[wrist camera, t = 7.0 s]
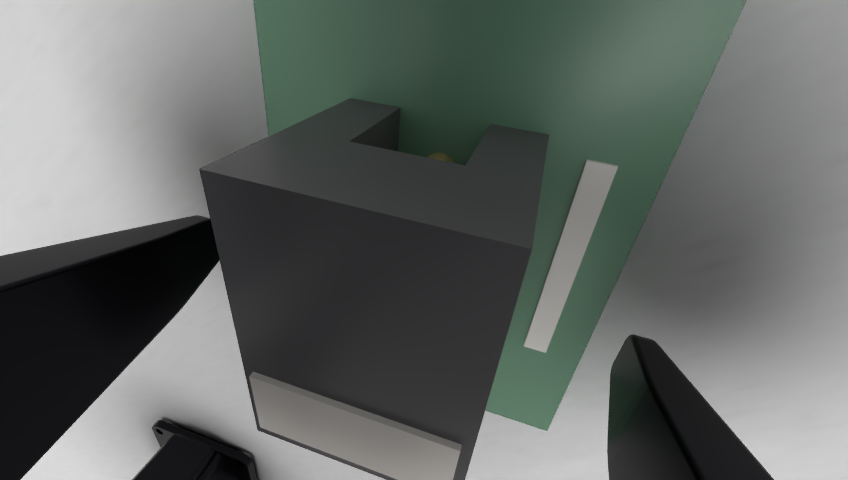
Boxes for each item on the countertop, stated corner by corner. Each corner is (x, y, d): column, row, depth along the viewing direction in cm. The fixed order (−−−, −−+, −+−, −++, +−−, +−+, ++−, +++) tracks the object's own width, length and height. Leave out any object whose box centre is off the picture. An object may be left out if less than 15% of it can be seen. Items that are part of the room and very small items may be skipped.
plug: (493, 341, 11) (455, 512, 8) (351, 300, 12) (254, 435, 8) (549, 134, 8) (530, 255, 4) (350, 98, 9) (192, 172, 5)
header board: (548, 399, 14) (543, 495, 11) (310, 323, 15) (256, 391, 13) (732, -25, 7) (828, -35, 4) (280, -71, 9) (158, -98, 6)
